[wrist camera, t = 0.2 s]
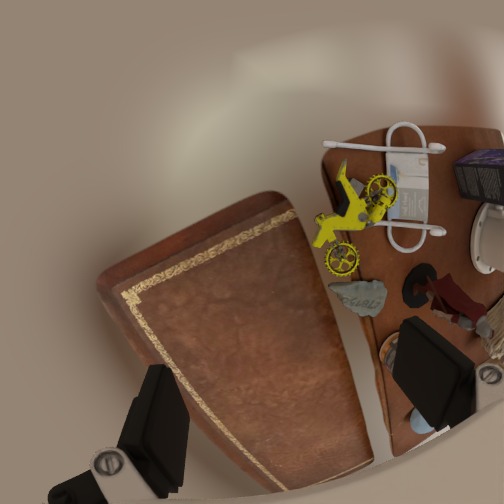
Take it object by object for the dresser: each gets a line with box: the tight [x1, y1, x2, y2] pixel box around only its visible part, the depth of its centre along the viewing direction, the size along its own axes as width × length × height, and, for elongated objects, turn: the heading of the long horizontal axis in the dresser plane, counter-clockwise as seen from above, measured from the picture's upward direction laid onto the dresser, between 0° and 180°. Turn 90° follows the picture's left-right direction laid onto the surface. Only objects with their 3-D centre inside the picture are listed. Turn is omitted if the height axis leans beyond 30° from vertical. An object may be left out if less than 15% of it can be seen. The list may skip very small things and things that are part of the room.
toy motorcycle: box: [312, 158, 399, 277], centre depth 26 cm, size 12×4×7 cm
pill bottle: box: [379, 332, 399, 374], centre depth 30 cm, size 6×6×10 cm
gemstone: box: [410, 407, 434, 434], centre depth 39 cm, size 8×8×5 cm
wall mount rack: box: [322, 121, 446, 253], centre depth 26 cm, size 16×14×6 cm
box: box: [453, 149, 504, 206], centre depth 24 cm, size 8×6×11 cm
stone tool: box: [328, 280, 387, 317], centre depth 31 cm, size 9×2×5 cm
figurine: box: [402, 264, 494, 340], centre depth 25 cm, size 7×7×15 cm
